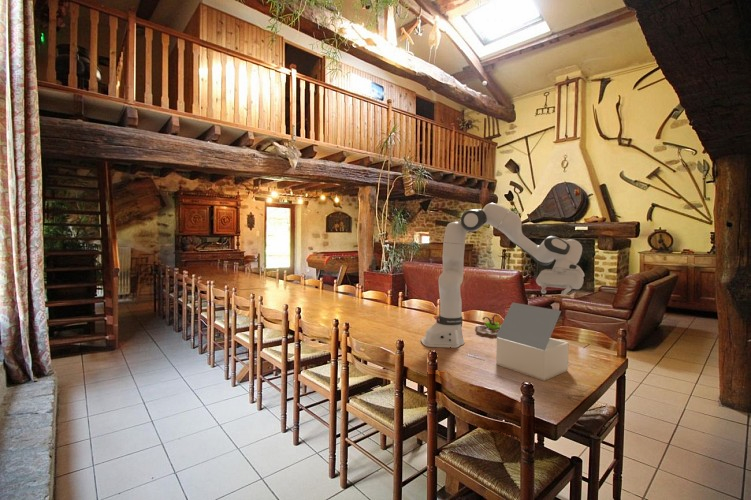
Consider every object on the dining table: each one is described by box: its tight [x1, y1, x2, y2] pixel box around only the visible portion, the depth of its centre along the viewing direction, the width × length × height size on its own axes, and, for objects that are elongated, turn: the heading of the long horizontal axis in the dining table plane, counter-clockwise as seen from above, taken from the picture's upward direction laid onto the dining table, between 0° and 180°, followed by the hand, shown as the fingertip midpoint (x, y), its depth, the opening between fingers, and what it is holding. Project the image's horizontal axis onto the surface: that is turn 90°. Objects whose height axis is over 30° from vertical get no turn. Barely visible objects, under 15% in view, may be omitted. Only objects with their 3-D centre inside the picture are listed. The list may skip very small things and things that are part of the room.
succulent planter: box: [474, 314, 502, 339], centre depth 207 cm, size 20×20×11 cm
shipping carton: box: [496, 337, 570, 382], centre depth 154 cm, size 18×22×12 cm
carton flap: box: [496, 301, 562, 350], centre depth 151 cm, size 18×22×1 cm
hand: (552, 293), depth 161 cm, fingers open, 8 cm apart
